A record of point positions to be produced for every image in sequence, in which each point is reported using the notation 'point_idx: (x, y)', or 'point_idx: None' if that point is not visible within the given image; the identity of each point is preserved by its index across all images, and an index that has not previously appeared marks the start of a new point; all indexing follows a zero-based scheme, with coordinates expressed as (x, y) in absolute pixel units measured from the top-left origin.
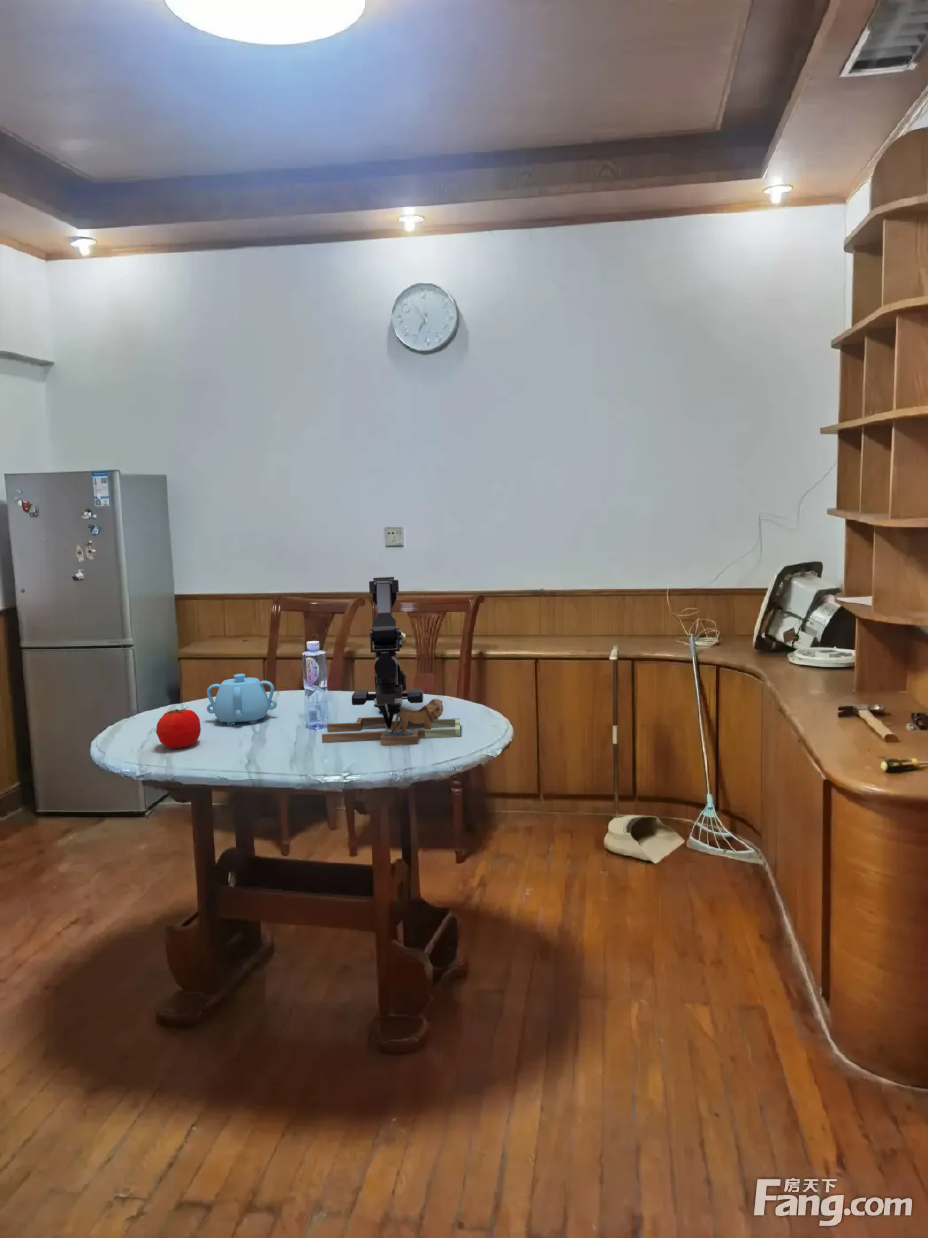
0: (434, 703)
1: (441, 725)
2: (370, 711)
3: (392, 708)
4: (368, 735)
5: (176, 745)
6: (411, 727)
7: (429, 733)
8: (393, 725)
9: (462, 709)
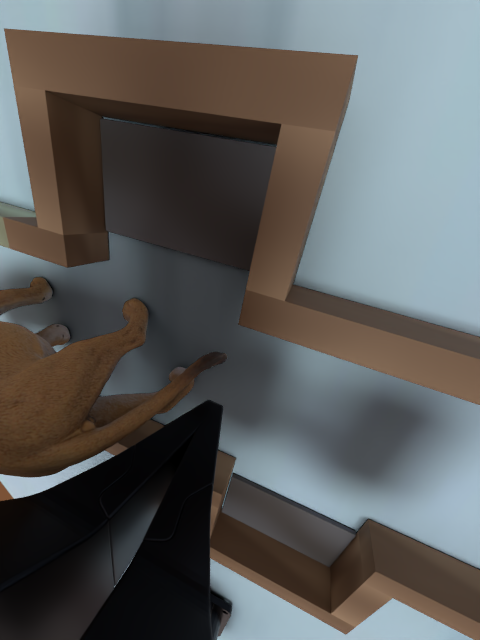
0: None
1: None
2: (256, 636)
3: (31, 531)
4: (411, 332)
5: None
6: None
7: (4, 212)
8: None
9: (23, 484)
